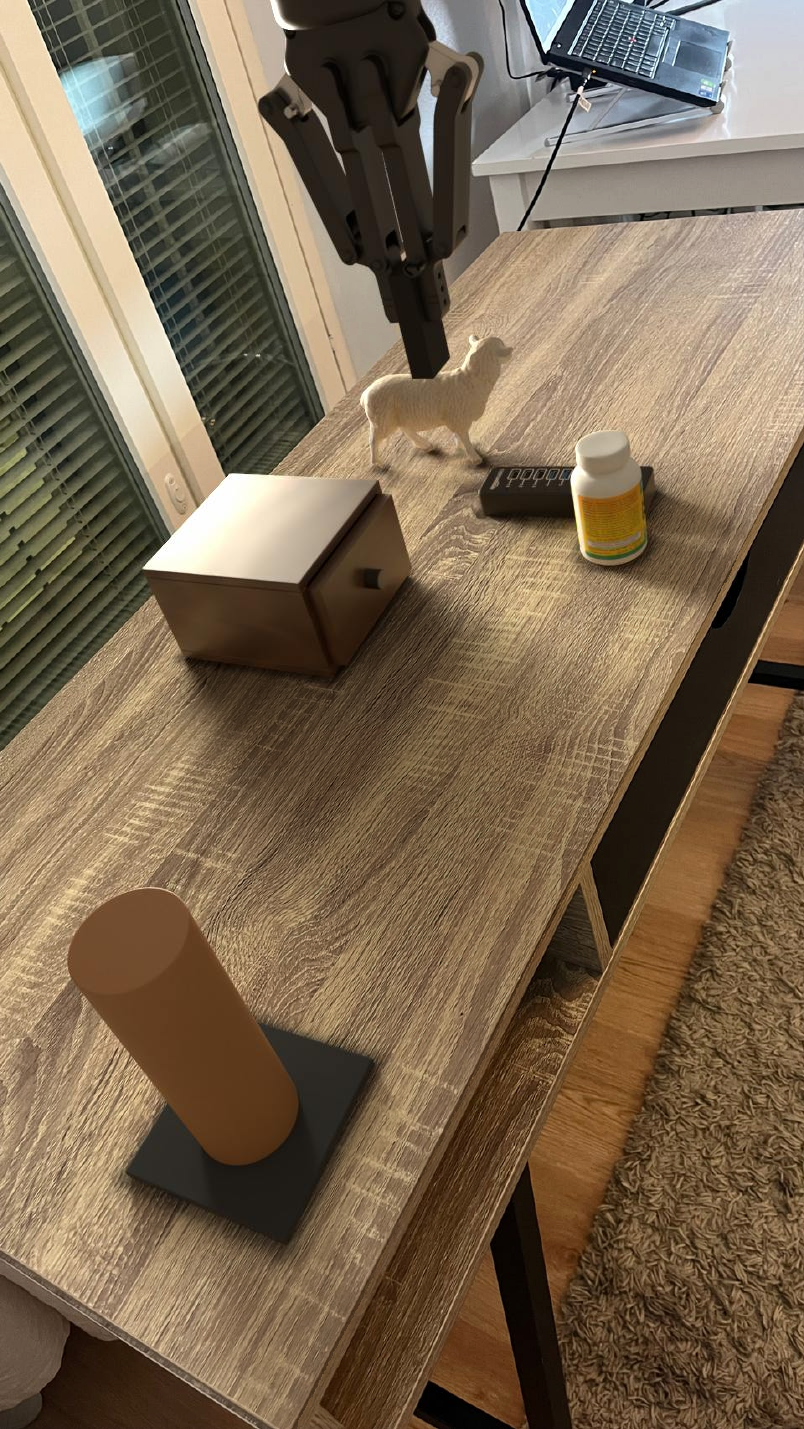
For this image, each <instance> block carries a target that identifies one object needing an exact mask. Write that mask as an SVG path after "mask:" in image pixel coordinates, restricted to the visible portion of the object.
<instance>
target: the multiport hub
mask: <svg viewBox="0 0 804 1429" xmlns="http://www.w3.org/2000/svg"><path fill="white" fill-rule="evenodd" d="M576 466H577V465H564V466H563V465H496V466H493V467H492V468H490V471H488V474H487V475H486V477H485V478H484V480H483V482H482V484H481V485H480V488H479V489H478V491H477V493H478V497H479V502H480V507H481V512H482V515H483V516H492V517H494V516H497V517H540V518H541V517H543V518H544V517H545V518H546V517H547V518H576V516H575V509H574V502H573V495H572V488H571V476H572V473H573V471H574V469H575V468H576ZM639 466H640V469H641V474H642V485H643V497H644V511H645V517H646V516H647V514H648V512H649V509H650V507H651V504H652V502H653V499H654V498H655V497H654V496H655V494H656V490H657V489H656V480H655V470H654V467H653V466H651V465H639Z"/></svg>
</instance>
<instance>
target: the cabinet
mask: <svg viewBox="0 0 804 1429" xmlns="http://www.w3.org/2000/svg"><path fill="white" fill-rule="evenodd" d="M378 494H384V492H383V490H382V486H381V483H380V480H379V479H370V478H369V479H368V478H367V479H366V478H344V477H342V478H341V477H317V476H294V475H270V474H269V475H268V474H244V473H229V474H228V476H227V477H226V478H225V479H223V481H222V482H221V483H220V484H219V486H218V487H217V488H216V489H214V491H213V492H212V493H211V494H210V495H209V496H208V498H206V499H205V500H204V502H203V503H202V504H200V506H199V507H198V508H197V509H196V510H195V511H194V512H193V513H192V515H190V517H188V519H187V520H186V521H185V522H184V523H183V524H182V525H181V527H179V529H178V530H177V531H175V533H174V534H173V535H172V536H171V537H170V538H169V540H168V541H167V542H166V543H165V544H164V545H163V546H162V547H161V548H160V549H159V550H158V551H157V552H156V553H155V555H153V556H152V558H151V559H150V560H148V562H147V563H146V564H145V566H143V567H142V569H141V571H142V573H143V575H144V577H145V580H146V582H147V584H148V586H149V588H150V590H151V592H152V594H153V596H154V598H155V600H156V602H157V605H158V606H159V608H160V610H161V613H162V615H163V617H164V619H165V621H166V623H167V625H168V627H169V629H170V632H171V634H172V635H173V637H174V640H175V642H176V644H177V646H178V648H179V651H180V652H181V655H182V656H183V658H189V659H196V660H204V661H210V662H217V663H224V664H225V663H226V664H232V665H239V666H244V667H245V666H246V667H253V668H260V669H266V670H267V669H268V670H275V671H283V672H288V673H289V672H290V673H296V674H304V675H309V676H310V675H311V676H317V677H323V678H324V677H325V678H330V679H331V678H334V677H335V675H336V673H337V672H338V670H339V669H340V668H341V666H342V665H338V664H333V662H332V659H331V656H330V653H329V651H328V648H327V645H326V642H325V640H324V637H323V634H322V631H321V629H320V626H319V623H318V620H317V618H316V615H315V612H314V609H313V607H312V604H311V601H310V598H309V596H308V593H307V590H306V589H307V587H306V585H307V584H308V583H309V582H310V580H311V579H312V578H313V576H314V575H315V574H316V572H317V571H318V570H319V568H320V567H321V566H322V564H323V563H324V562H325V561H326V559H327V558H328V557H329V555H330V554H331V553H332V551H333V550H334V549H335V547H336V546H337V545H338V543H339V542H340V541H341V540H342V538H343V537H344V536H345V534H346V533H347V532H348V530H349V529H350V528H351V526H352V525H353V524H354V523H355V521H356V520H357V519H358V517H359V516H360V515H361V513H362V512H363V511H364V512H365V511H366V510H367V508H368V507H369V506H370V504H371V503H372V502H373V501H374V499H375V498H376V497H377V495H378Z"/></svg>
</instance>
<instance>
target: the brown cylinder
mask: <svg viewBox="0 0 804 1429" xmlns="http://www.w3.org/2000/svg"><path fill="white" fill-rule="evenodd" d="M66 960H67V961H66V962H67V971H68V974H69V976H70V979H71V981H72V982H73V983H74V985H75V986H76V987H77V988H78V990H79V991H80V992H81V994H82V995H83V996H84V998H85V999H86V1000H87V1001H88V1003H89V1004H90V1005H91V1007H92V1008H93V1009H94V1011H95V1012H96V1013H97V1014H98V1016H99V1017H100V1018H101V1020H102V1021H103V1022H104V1023H105V1024H106V1026H107V1027H108V1028H109V1029H110V1031H111V1032H112V1033H113V1035H114V1036H115V1037H116V1039H118V1041H119V1042H120V1044H121V1045H122V1046H123V1048H124V1049H125V1050H126V1051H127V1053H128V1054H129V1056H131V1058H132V1059H133V1060H134V1062H135V1063H136V1064H137V1065H138V1067H139V1068H140V1070H142V1072H143V1073H144V1074H145V1076H146V1077H147V1078H148V1080H149V1081H150V1082H151V1083H152V1085H153V1086H154V1088H155V1089H156V1090H157V1092H158V1093H159V1094H160V1095H161V1096H162V1097H163V1099H164V1100H165V1101H166V1103H167V1102H168V1104H169V1105H170V1106H171V1108H172V1109H173V1110H174V1111H175V1113H176V1114H177V1115H178V1117H179V1118H180V1119H181V1120H182V1122H183V1123H184V1124H185V1126H186V1127H187V1128H188V1129H189V1131H190V1132H191V1133H192V1134H193V1136H194V1137H195V1138H196V1140H197V1141H198V1142H199V1143H200V1145H201V1146H202V1147H203V1149H204V1150H205V1151H206V1152H207V1153H208V1154H209V1155H210V1156H211V1157H212V1158H214V1159H215V1160H217V1161H219V1162H221V1163H224V1164H228V1165H246V1164H250V1163H254V1162H256V1161H259V1160H261V1159H263V1158H265V1157H267V1156H268V1155H270V1154H271V1153H273V1152H274V1151H275V1150H276V1149H277V1148H278V1147H279V1146H280V1145H281V1144H282V1143H283V1142H284V1141H285V1139H286V1138H287V1137H288V1135H289V1134H290V1132H291V1130H292V1128H293V1126H294V1124H295V1121H296V1118H297V1113H298V1104H299V1102H298V1094H297V1090H296V1087H295V1085H294V1083H293V1081H292V1080H291V1078H290V1076H289V1075H288V1073H287V1071H286V1070H285V1068H284V1066H283V1065H282V1063H281V1062H280V1060H279V1058H278V1057H277V1055H276V1053H275V1052H274V1050H273V1048H272V1047H271V1045H270V1043H269V1042H268V1040H267V1038H266V1037H265V1035H264V1033H263V1032H262V1030H261V1028H260V1027H259V1025H258V1023H257V1022H258V1021H257V1020H256V1019H255V1017H254V1015H253V1013H252V1012H251V1010H250V1008H249V1007H248V1006H247V1004H246V1002H245V1000H244V998H243V997H242V995H241V994H240V992H239V990H238V989H237V987H236V986H235V984H234V982H233V980H232V979H231V977H230V975H229V973H228V972H227V971H226V968H225V967H224V965H223V963H222V962H221V960H220V958H219V957H218V955H217V953H216V952H215V951H214V948H213V947H212V946H211V943H210V942H209V941H208V939H207V937H206V936H205V934H204V933H203V930H202V929H201V927H200V925H199V924H198V922H197V921H196V919H195V918H194V916H193V914H192V912H191V910H190V909H189V907H188V906H187V904H186V903H185V901H184V900H183V899H182V898H181V897H180V896H178V894H176V893H175V892H172V891H170V890H167V889H165V888H161V887H152V886H151V887H141V888H140V887H138V888H134V889H130V890H127V891H125V892H122V893H119V894H117V895H115V896H113V897H111V898H109V899H107V900H106V901H104V902H103V903H101V904H100V905H98V906H97V907H96V908H95V909H94V910H93V911H92V912H90V914H89V915H88V916H87V917H86V918H85V919H84V920H83V921H82V923H81V924H80V925H79V927H78V928H77V929H76V931H75V932H74V934H73V937H72V939H71V941H70V944H69V946H68V950H67V958H66ZM256 1021H257V1022H256Z"/></svg>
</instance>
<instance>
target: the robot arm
mask: <svg viewBox="0 0 804 1429" xmlns="http://www.w3.org/2000/svg"><path fill="white" fill-rule="evenodd" d="M270 5H271V7H272V12H273V15H274V19H275V21H276V22H277V24H278V25H279V26H280V27H281V28H282V31H283V34H284V54H283V63H284V68H285V70H286V72H285V73H284V74H283V75H282V77H281V78H280V79H279V81H278V82H277V84H276V85H275V87H274V88H273V89H271V90H270V91H268V92H267V93H266V94H264V95H262V96H261V97H259V99H258V101H257V110H258V113H259V114H260V116H261V117H262V118H263V120H265V122H266V123H267V124H268V126H270V127H271V129H272V130H273V131H274V132H275V134H277V136H278V137H279V138H280V139H281V140H282V142H283V143H284V145H285V148H286V150H287V152H288V154H289V156H290V157H291V160H292V162H293V165H294V167H295V169H296V170H297V172H298V175H299V177H300V179H301V181H302V183H303V185H304V187H305V189H306V191H307V193H308V195H309V197H310V200H311V201H312V203H313V206H314V208H315V210H316V212H317V214H318V216H319V218H320V220H321V222H322V224H323V226H324V228H325V230H326V233H327V234H328V236H329V238H330V241H331V243H332V245H333V247H334V249H335V251H336V253H337V256H338V257H339V259H340V261H341V262H342V263H343V264H344V265H346V266H349V267H351V266H354V265H355V264H357V265H361V266H363V267H366V268H368V269H369V270H370V271H371V272H372V273H373V274H374V276H375V280H376V283H377V287H378V291H379V295H380V300H381V303H382V306H383V311H384V315H385V318H386V319H387V321H388V322H389V324H398V327H399V330H400V334H401V338H402V343H403V348H404V351H405V355H406V360H407V363H408V368H409V371H410V374H411V376H412V379H434V378H435V377H436V375H437V374H438V373H439V372H441V370H442V369H443V368H444V367H445V365H446V364H447V363H448V362H449V360H450V359H451V354H450V349H449V345H448V340H447V335H446V331H445V327H444V320H443V319H444V318H445V316H446V315H447V314H448V313H449V312H450V309H451V303H452V302H451V297H450V293H449V287H448V282H447V278H446V273H445V269H444V264H443V263H444V262H443V260H447V259H449V258H450V257H451V256H452V255H453V254H454V253H455V252H456V251H457V250H458V248H460V246H462V244H463V243H464V242H465V241H466V240H467V238H468V237H469V232H470V231H469V230H470V199H471V198H470V197H471V196H470V193H471V166H472V165H471V163H472V162H471V161H472V130H473V129H472V128H473V127H472V126H473V102H474V99H475V96H476V93H477V90H478V88H479V84H480V83H481V82H480V81H481V78H482V75H483V73H484V70H485V60H484V58H483V56H482V54H480V53H479V52H477V51H474V50H472V51H468V52H467V53H466V54H464V55H463V54H462V53H459V52H458V51H456V50H454V49H453V48H451V47H449V46H447V45H446V44H444V43H442V42H441V41H439V40H438V38H437V36H438V35H437V31H436V28H435V25H434V24H433V22H432V21H431V19H430V18H429V16H428V14H427V13H426V10H425V8H424V7H423V4H422V0H270ZM428 73H429V76H430V94H431V96H432V97H433V98H436V101H435V105H434V111H433V122H432V131H433V132H432V186H431V182H430V181H431V180H430V176H429V172H428V171H429V170H428V166H427V162H426V157H425V152H424V147H423V143H422V138H421V132H420V130H421V124H422V117H421V112H420V106H419V103H418V99H419V97H420V93H421V91H422V88H423V85H424V82H425V79H426V77H427V74H428ZM312 104H313V105H314V106H315V107H316V108H317V109H318V110H319V111H320V112H321V114H322V115H323V116H324V117H325V118H326V123H327V126H328V130H329V134H330V138H331V141H330V138H329V136H328V133H327V131H326V129H325V126H324V125H323V123H322V121H321V119H320V117H319V116H318V114H317V113H316V111H315V110H314V108H313V105H312ZM337 153H338V154H339V155H340V159H341V162H342V164H341V162H340V159H339V157H338V155H337ZM403 254H405V258H404V259H403V258H402V255H403Z"/></svg>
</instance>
